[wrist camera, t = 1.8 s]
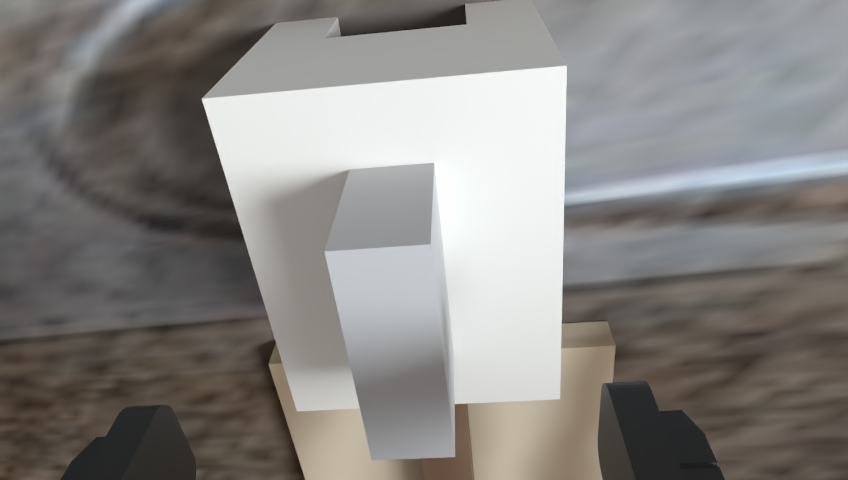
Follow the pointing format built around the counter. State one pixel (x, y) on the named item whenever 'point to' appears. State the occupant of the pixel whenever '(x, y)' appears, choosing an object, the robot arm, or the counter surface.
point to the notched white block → (404, 214)
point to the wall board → (476, 428)
